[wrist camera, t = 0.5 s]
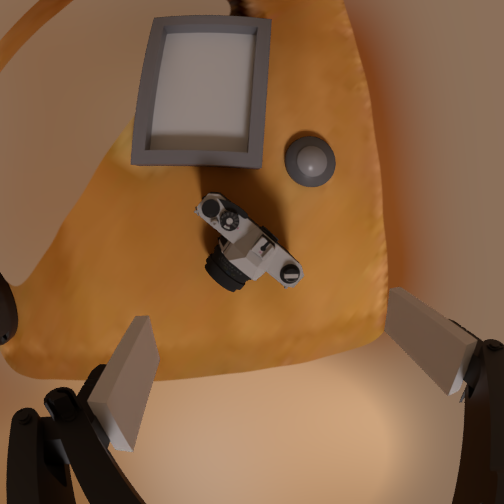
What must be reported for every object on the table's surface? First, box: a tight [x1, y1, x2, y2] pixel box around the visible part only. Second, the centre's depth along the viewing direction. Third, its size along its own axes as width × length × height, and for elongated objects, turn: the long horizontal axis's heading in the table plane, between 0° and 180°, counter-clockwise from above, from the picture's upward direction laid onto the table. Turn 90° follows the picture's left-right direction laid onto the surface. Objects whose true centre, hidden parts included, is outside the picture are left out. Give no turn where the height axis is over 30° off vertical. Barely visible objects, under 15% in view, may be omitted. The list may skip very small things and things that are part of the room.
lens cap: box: [285, 136, 335, 187], centre depth 31 cm, size 6×6×2 cm
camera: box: [194, 192, 304, 292], centre depth 29 cm, size 13×8×9 cm, turn 51°
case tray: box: [131, 15, 272, 169], centre depth 27 cm, size 14×19×3 cm
